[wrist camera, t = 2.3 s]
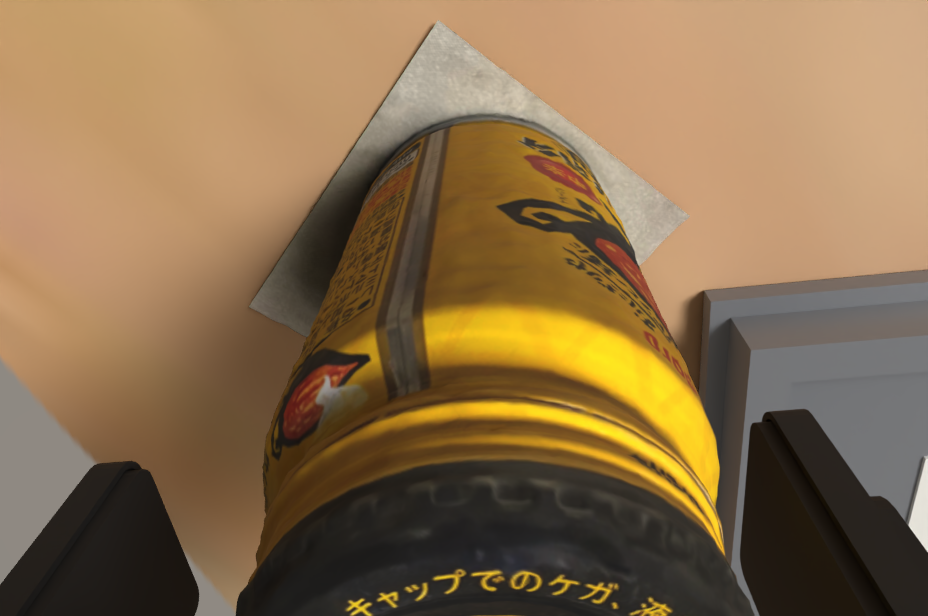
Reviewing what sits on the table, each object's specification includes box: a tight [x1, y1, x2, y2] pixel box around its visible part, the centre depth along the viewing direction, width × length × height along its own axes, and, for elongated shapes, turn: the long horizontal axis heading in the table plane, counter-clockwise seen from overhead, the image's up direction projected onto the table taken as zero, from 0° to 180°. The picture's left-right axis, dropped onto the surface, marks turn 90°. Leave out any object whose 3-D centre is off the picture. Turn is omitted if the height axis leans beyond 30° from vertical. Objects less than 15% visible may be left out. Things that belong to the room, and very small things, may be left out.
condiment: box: [236, 20, 755, 616], centre depth 12 cm, size 7×8×12 cm
